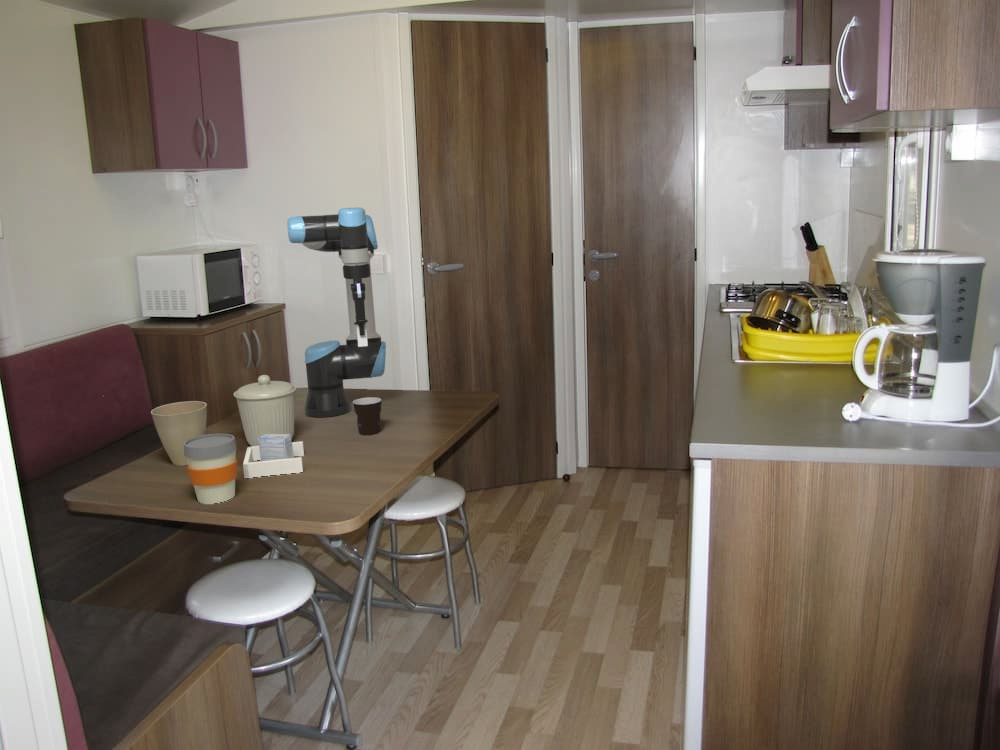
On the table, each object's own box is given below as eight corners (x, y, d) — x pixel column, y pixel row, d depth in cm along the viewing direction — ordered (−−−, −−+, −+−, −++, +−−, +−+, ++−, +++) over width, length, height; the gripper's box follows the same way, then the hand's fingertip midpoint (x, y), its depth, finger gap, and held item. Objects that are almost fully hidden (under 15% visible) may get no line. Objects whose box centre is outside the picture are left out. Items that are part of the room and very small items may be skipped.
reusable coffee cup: (179, 504, 224) (171, 446, 221) (212, 487, 236) (205, 431, 232) (221, 509, 220) (213, 449, 216) (252, 491, 231) (246, 434, 228)
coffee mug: (378, 436, 273) (375, 404, 271) (351, 436, 275) (348, 404, 273) (390, 425, 285) (388, 394, 282) (364, 425, 286) (361, 394, 284)
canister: (313, 441, 272) (307, 372, 267) (261, 456, 259) (253, 385, 255) (279, 431, 284) (272, 365, 280) (228, 446, 272) (219, 377, 267)
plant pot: (194, 450, 268) (187, 398, 265) (224, 458, 259) (217, 404, 256) (148, 464, 257) (140, 410, 254) (176, 473, 248) (169, 417, 244)
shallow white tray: (249, 460, 257) (247, 446, 256) (304, 454, 259) (302, 441, 258) (244, 478, 241) (242, 464, 240) (302, 472, 244) (301, 458, 243)
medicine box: (294, 463, 252) (291, 433, 250) (287, 469, 248) (284, 438, 246) (268, 463, 253) (265, 433, 252) (261, 468, 249) (257, 438, 247)
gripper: (370, 265, 250) (377, 349, 255) (368, 260, 262) (374, 340, 268) (343, 266, 248) (350, 351, 254) (341, 262, 261) (348, 342, 266)
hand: (362, 345), depth 261 cm, fingers closed
